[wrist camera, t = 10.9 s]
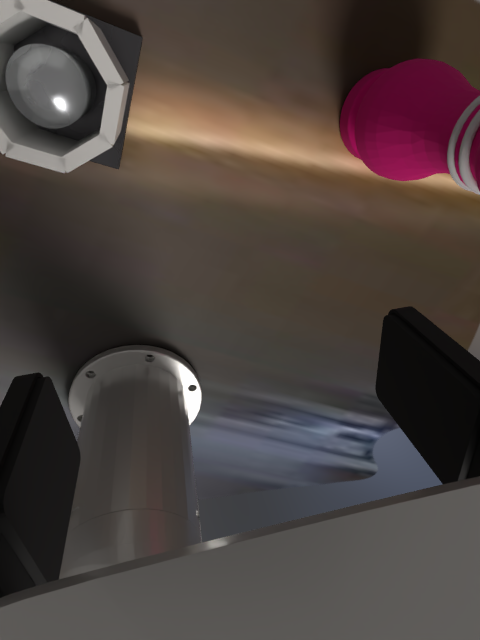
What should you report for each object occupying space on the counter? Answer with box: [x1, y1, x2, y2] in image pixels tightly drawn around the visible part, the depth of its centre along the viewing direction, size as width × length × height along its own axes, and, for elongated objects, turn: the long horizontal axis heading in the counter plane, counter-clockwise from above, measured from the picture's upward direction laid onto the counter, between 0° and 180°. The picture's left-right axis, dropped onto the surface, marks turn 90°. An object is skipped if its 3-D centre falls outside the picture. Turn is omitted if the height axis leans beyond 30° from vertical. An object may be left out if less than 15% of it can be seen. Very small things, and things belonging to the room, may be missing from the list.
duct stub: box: [5, 0, 143, 169], centre depth 23 cm, size 8×8×6 cm
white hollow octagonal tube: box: [0, 0, 130, 173], centre depth 22 cm, size 7×7×6 cm
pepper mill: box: [340, 59, 480, 195], centre depth 22 cm, size 7×7×20 cm
